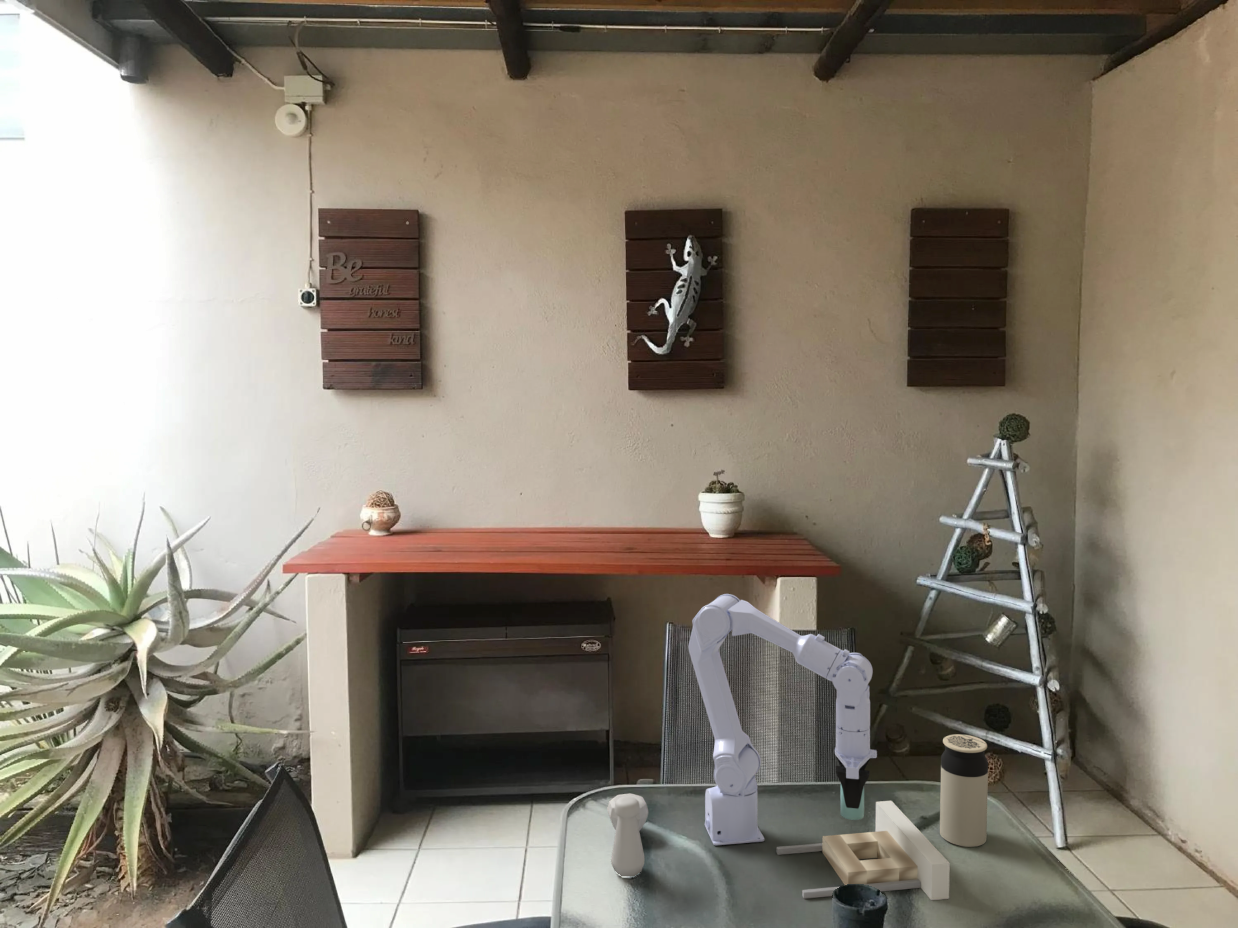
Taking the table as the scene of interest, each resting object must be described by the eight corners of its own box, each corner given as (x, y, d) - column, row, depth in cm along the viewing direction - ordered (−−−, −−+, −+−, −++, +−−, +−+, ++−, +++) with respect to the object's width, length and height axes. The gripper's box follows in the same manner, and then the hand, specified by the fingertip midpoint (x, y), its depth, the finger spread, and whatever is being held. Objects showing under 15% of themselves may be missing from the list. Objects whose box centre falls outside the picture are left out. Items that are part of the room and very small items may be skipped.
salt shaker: (606, 867, 158) (604, 795, 157) (636, 860, 160) (635, 789, 159) (619, 884, 153) (618, 810, 152) (650, 876, 155) (649, 803, 154)
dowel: (863, 820, 157) (864, 781, 157) (839, 818, 158) (840, 779, 158) (864, 810, 161) (864, 772, 161) (840, 807, 162) (840, 769, 162)
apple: (645, 843, 166) (645, 809, 166) (603, 840, 168) (602, 806, 167) (651, 822, 174) (651, 789, 173) (611, 819, 175) (610, 786, 175)
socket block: (848, 889, 150) (848, 872, 150) (822, 852, 162) (822, 835, 162) (917, 883, 152) (917, 865, 152) (886, 846, 164) (887, 830, 163)
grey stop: (811, 911, 144) (811, 875, 144) (770, 841, 166) (770, 810, 166) (948, 898, 147) (949, 862, 147) (890, 831, 169) (891, 800, 169)
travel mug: (962, 852, 162) (964, 753, 160) (930, 831, 169) (931, 737, 167) (996, 842, 165) (998, 745, 163) (963, 822, 172) (965, 730, 170)
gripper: (877, 743, 150) (877, 823, 152) (876, 712, 164) (875, 785, 165) (833, 740, 152) (833, 818, 153) (835, 709, 166) (835, 781, 167)
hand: (852, 801), depth 160 cm, fingers closed on dowel, 4 cm apart
